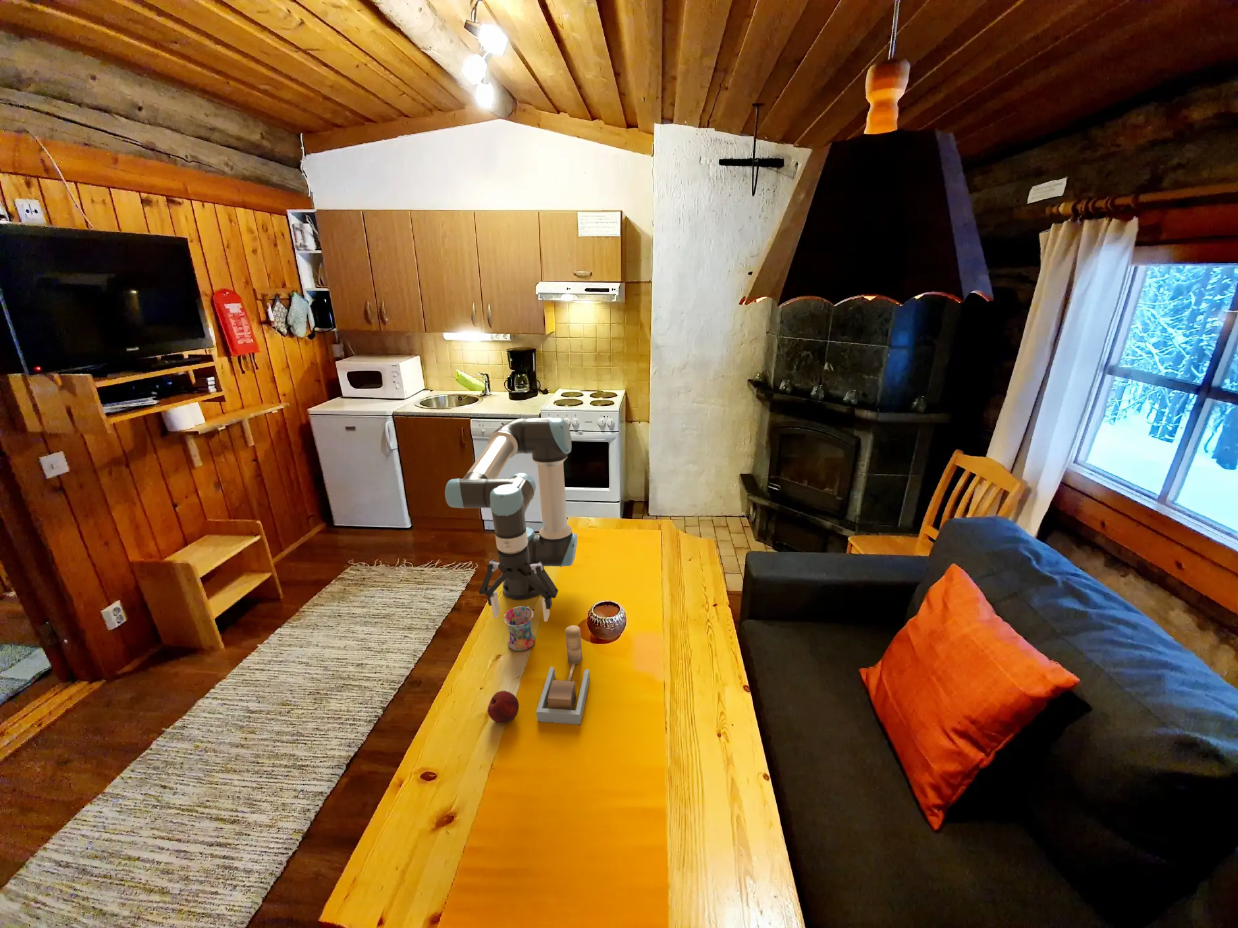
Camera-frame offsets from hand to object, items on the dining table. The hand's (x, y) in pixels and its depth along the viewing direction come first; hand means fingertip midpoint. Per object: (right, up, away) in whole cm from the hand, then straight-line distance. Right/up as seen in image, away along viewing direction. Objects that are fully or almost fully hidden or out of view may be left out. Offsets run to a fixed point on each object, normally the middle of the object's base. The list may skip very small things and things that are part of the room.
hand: (521, 616), depth 127 cm
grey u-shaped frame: (+11, -25, +7) cm, 28 cm away
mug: (-5, -17, +28) cm, 33 cm away
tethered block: (+11, -23, +12) cm, 28 cm away
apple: (-4, -27, +1) cm, 28 cm away
